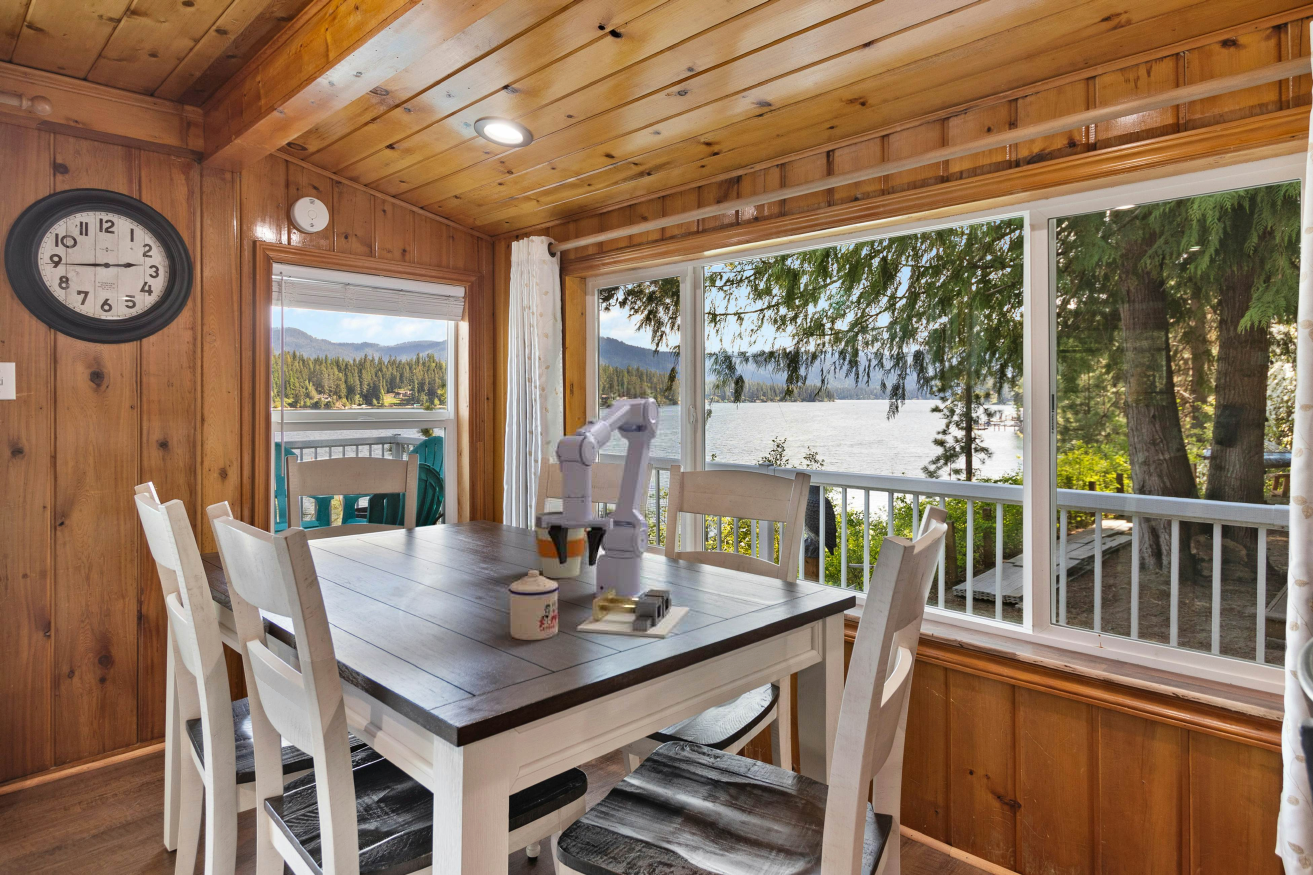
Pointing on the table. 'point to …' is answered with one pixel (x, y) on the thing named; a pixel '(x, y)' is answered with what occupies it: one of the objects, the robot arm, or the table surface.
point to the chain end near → (647, 613)
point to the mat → (624, 624)
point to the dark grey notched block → (665, 599)
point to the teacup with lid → (533, 607)
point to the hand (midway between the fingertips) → (577, 564)
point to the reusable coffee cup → (550, 554)
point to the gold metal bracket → (612, 604)
